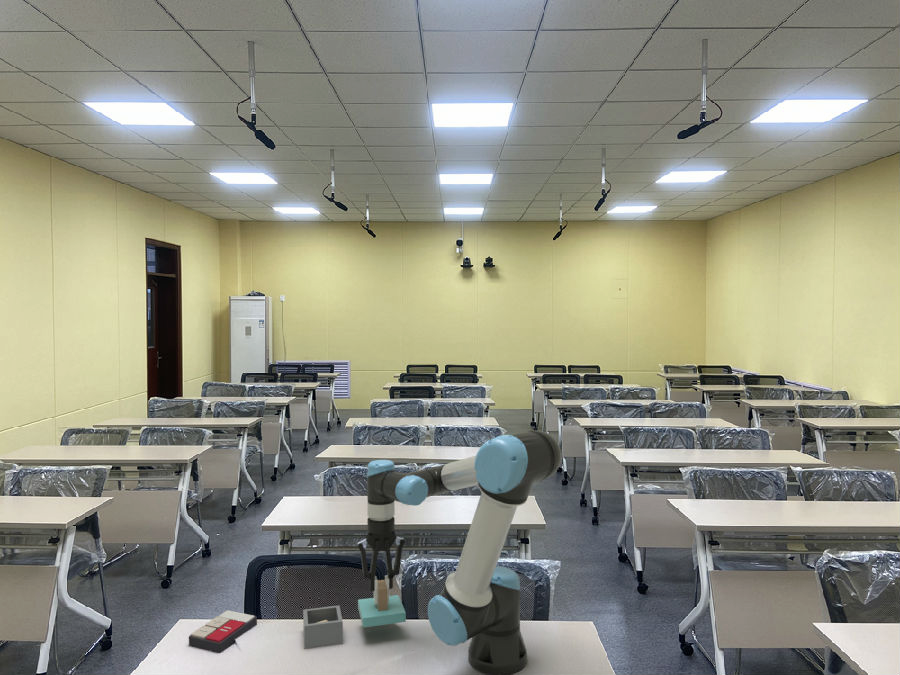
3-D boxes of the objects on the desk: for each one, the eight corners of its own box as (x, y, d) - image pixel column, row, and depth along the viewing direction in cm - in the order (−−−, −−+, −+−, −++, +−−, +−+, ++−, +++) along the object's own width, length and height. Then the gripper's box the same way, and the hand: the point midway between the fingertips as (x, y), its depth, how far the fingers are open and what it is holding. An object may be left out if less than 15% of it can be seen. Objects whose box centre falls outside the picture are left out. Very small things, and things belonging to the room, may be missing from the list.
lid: (405, 621, 164) (405, 590, 164) (363, 627, 161) (362, 595, 161) (398, 603, 175) (398, 574, 175) (358, 608, 172) (357, 578, 172)
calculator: (187, 633, 163) (227, 607, 177) (188, 649, 163) (227, 621, 177) (219, 641, 159) (257, 613, 173) (220, 657, 159) (257, 628, 173)
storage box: (342, 647, 162) (342, 621, 162) (304, 652, 159) (304, 626, 159) (339, 629, 172) (339, 605, 172) (303, 634, 169) (303, 609, 169)
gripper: (405, 510, 173) (406, 592, 173) (351, 515, 169) (351, 598, 169) (411, 518, 166) (411, 603, 166) (354, 523, 162) (354, 610, 162)
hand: (381, 600), depth 168 cm, fingers closed on lid, 2 cm apart
